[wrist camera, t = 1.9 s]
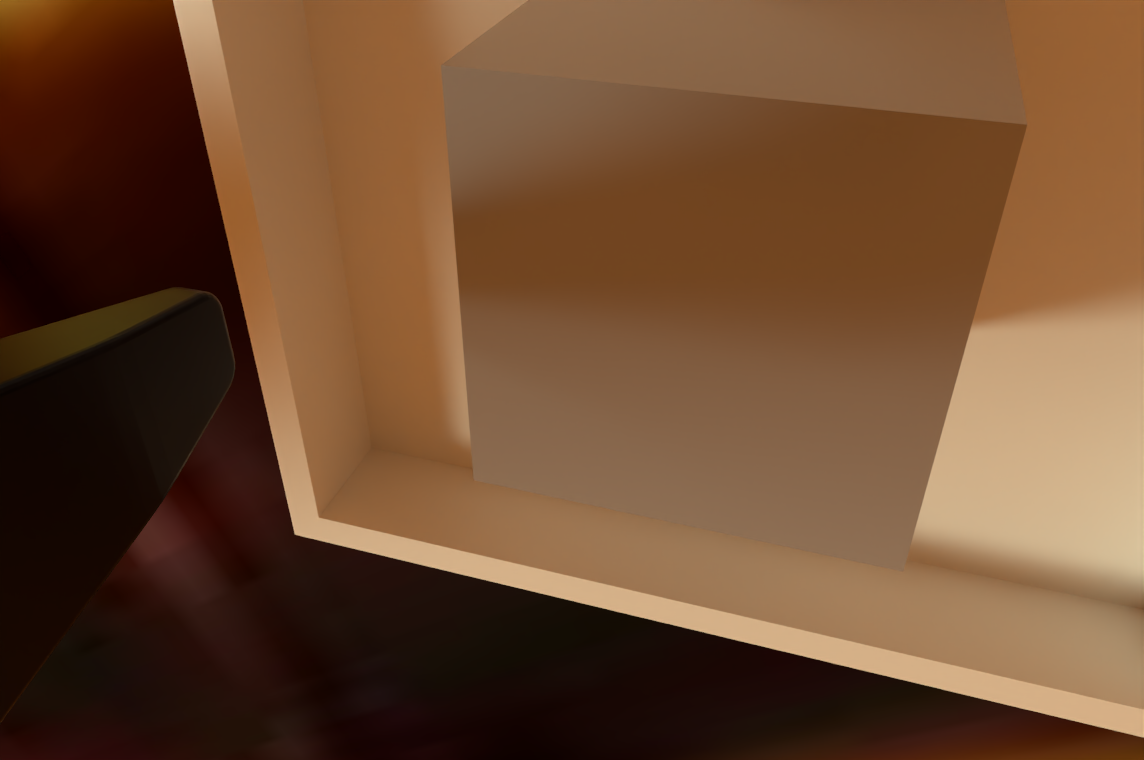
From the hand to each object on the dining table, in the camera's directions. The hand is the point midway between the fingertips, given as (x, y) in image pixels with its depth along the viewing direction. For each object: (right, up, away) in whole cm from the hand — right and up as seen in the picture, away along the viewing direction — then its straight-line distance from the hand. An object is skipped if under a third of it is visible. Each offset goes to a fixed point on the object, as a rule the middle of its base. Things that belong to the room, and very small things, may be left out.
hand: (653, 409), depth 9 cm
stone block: (+2, +3, +5) cm, 6 cm away
